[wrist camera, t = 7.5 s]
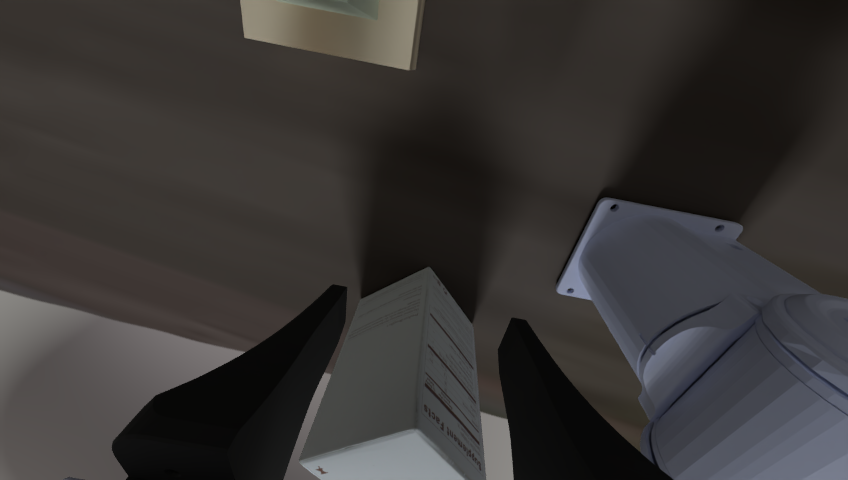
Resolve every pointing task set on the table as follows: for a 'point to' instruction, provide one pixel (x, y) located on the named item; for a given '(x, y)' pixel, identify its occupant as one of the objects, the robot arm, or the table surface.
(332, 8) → the sage cube
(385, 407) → the supplement box
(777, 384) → the robot arm
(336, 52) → the beech base
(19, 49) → the table surface
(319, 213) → the table surface
